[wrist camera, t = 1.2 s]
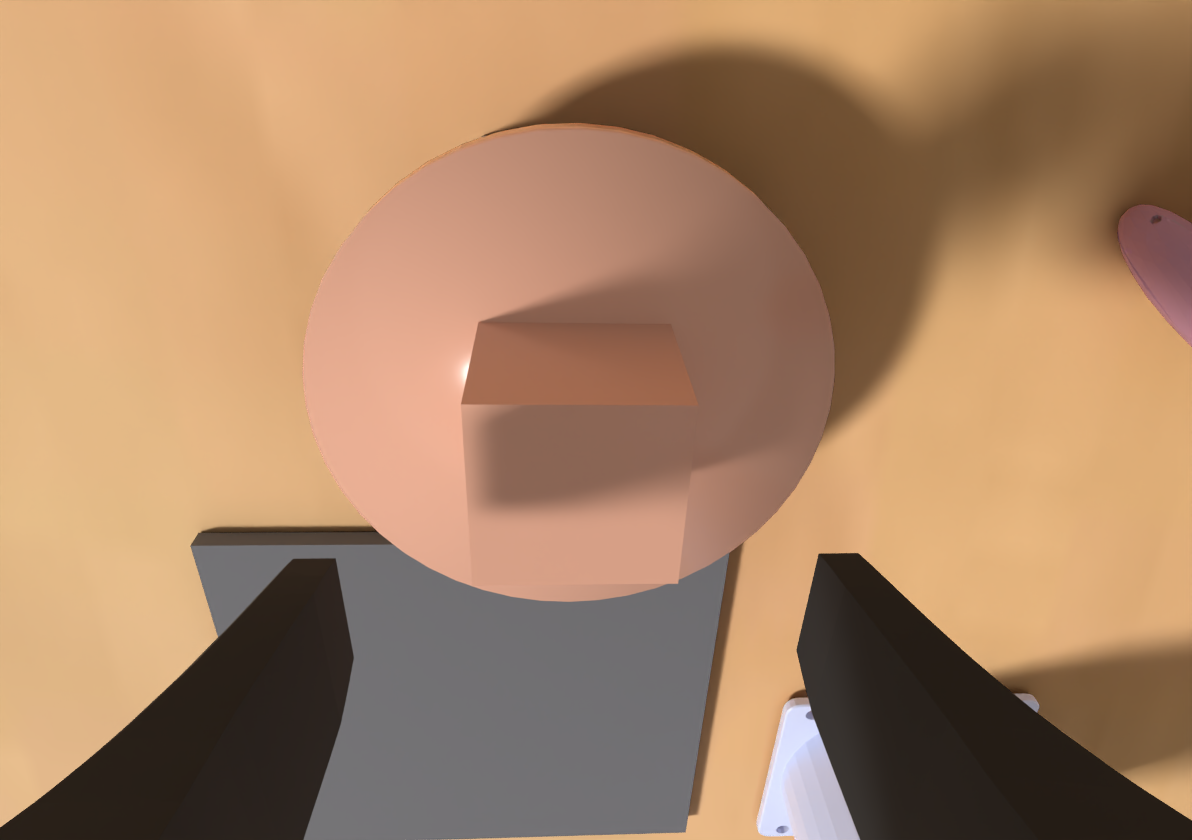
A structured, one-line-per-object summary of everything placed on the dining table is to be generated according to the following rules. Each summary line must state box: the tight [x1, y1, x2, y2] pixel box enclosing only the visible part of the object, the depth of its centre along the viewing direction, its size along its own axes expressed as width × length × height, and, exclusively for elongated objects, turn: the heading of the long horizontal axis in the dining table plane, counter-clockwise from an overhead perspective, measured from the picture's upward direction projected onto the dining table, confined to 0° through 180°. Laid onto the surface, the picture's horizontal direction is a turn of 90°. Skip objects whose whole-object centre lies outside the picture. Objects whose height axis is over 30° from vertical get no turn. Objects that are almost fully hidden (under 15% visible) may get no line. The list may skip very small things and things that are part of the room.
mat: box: [191, 532, 729, 840], centre depth 27 cm, size 16×15×1 cm
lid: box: [303, 123, 835, 602], centre depth 16 cm, size 12×12×4 cm
